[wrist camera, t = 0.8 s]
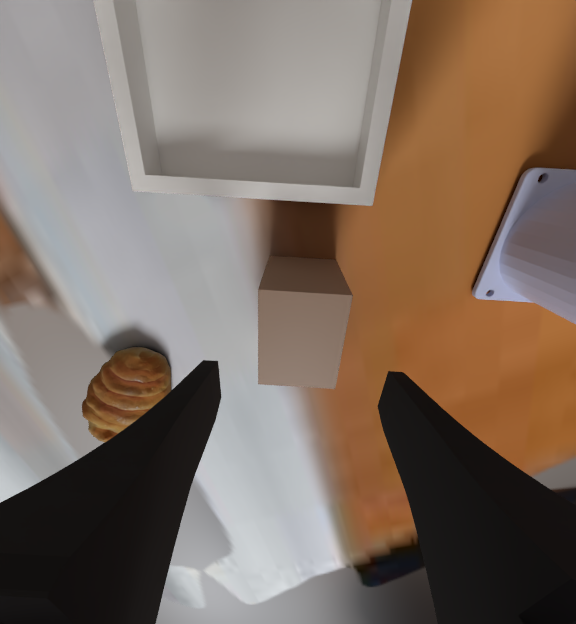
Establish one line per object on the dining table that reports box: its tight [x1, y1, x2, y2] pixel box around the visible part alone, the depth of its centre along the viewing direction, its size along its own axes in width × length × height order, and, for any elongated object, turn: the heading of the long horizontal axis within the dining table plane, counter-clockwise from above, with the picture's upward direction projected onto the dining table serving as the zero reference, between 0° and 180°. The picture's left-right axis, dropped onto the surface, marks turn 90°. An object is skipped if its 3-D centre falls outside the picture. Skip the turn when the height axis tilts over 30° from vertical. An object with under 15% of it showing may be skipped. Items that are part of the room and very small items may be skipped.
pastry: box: [82, 347, 171, 442], centre depth 22 cm, size 9×7×4 cm
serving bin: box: [93, 0, 412, 206], centre depth 12 cm, size 13×13×2 cm
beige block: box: [258, 256, 353, 389], centre depth 16 cm, size 4×6×6 cm
